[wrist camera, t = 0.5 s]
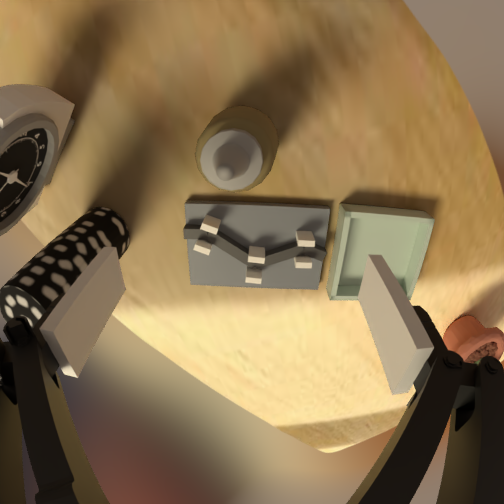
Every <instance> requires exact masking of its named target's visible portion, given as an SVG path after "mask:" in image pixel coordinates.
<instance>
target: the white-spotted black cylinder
mask: <svg viewBox="0 0 504 504" xmlns="http://www.w3.org/2000/svg"><path fill="white" fill-rule="evenodd" d="M128 245H129V231H128V228H127V226H126V224H125V222H124V220H123V219H122V218H121V217H120V216H119V215H118V214H117V213H116V212H114V211H113V210H111V209H108V208H104V207H96V208H93V209H91V210H89V211H88V212H87V213H85V214H84V215H83V216H82V217H80V218H79V219H78V220H76V221H75V222H74V223H73V224H72V225H70V226H69V227H68V228H67V229H65V230H64V231H63V232H62V233H61V234H59V235H58V236H57V237H56V238H55V239H53V240H52V241H51V242H50V243H49V244H48V245H47V246H45V247H44V248H43V249H42V250H41V251H40V252H39V253H38V254H36V255H35V256H34V257H33V258H32V259H31V260H30V261H29V262H28V263H27V264H25V265H24V266H23V267H22V268H21V269H20V270H19V271H18V272H17V273H16V274H15V275H14V276H13V277H12V278H11V279H10V280H9V281H8V282H7V283H6V284H5V285H4V286H3V287H2V288H1V289H0V310H1V313H2V315H3V317H4V319H5V321H6V322H8V321H9V320H10V319H12V318H14V317H17V316H25V317H26V318H27V319H28V321H29V323H30V325H31V327H32V328H33V327H34V326H35V324H36V323H37V322H38V320H39V319H40V318H41V316H42V315H43V314H44V313H45V311H46V310H47V308H48V307H49V306H50V304H51V303H52V302H53V300H54V299H55V298H57V297H58V296H59V295H61V294H62V293H66V292H67V291H68V290H69V288H70V287H71V286H72V285H73V283H74V282H75V281H76V280H77V278H78V277H79V276H80V275H81V273H82V272H83V271H84V270H85V269H86V267H87V266H88V265H89V264H90V263H91V261H92V260H93V259H94V258H95V257H96V256H97V254H98V253H99V252H100V251H101V250H102V249H103V247H116V249H117V254H118V259H120V258H121V257H122V255H123V254H124V253H125V251H126V250H127V248H128Z"/></svg>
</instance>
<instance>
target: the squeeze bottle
mask: <svg viewBox="0 0 504 504" xmlns="http://www.w3.org/2000/svg"><path fill="white" fill-rule="evenodd" d="M278 146H279V141H278V135H277V129H276V128H275V126H274V125H273V123H272V121H271V120H270V118H269V117H268V116H266V115H265V114H263V113H262V112H261V111H259V110H258V109H255V108H251V107H246V106H237V107H231V108H227V109H225V110H223V111H222V112H220V113H219V114H217V115H215V116H214V117H213V119H212V120H211V122H210V123H209V124H208V126H207V127H206V129H205V130H204V131H203V133H202V134H201V136H200V137H199V139H198V142H197V147H196V152H195V157H196V161H197V166H198V169H199V171H200V172H201V174H202V175H203V177H204V178H205V180H206V181H207V182H209V183H210V184H212V185H213V186H215V187H216V188H218V189H220V190H225V191H229V192H240V191H247V190H250V189H251V188H253V187H255V186H257V185H258V184H260V183H262V181H263V180H264V179H265V177H266V176H267V175H268V174H269V172H270V171H271V168H272V165H273V163H274V160H275V157H276V153H277V149H278Z"/></svg>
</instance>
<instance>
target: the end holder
mask: <svg viewBox="0 0 504 504" xmlns="http://www.w3.org/2000/svg"><path fill="white" fill-rule="evenodd" d="M434 220H435V219H434V218H432V217H431V216H430V215H429V214H428V213H426V212H425V211H419V210H410V209H400V208H390V207H380V206H369V205H357V204H344V203H340V206H339V213H338V220H337V227H336V234H335V240H334V246H333V252H332V258H331V264H330V270H329V275H328V281H327V286H326V289H327V293H328V296H329V299H330V300H359V299H358V295H359V291H360V287H361V283H362V279H363V275H364V270H365V266H366V262H367V257H368V254H372V255H382V256H383V258H384V260H385V261H386V263H387V264H388V266H389V268H390V269H391V271H392V273H393V274H394V276H395V277H396V279H397V281H398V282H399V284H400V286H401V288H402V289H403V291H404V293H405V294H406V296H407V298H408V300H411V297H412V294H413V291H414V288H415V285H416V282H417V279H418V276H419V273H420V270H421V267H422V264H423V260H424V257H425V254H426V250H427V247H428V243H429V240H430V236H431V232H432V228H433V224H434Z"/></svg>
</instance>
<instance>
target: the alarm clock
mask: <svg viewBox="0 0 504 504" xmlns="http://www.w3.org/2000/svg"><path fill="white" fill-rule="evenodd" d="M74 106H75V104H73V103H71V102H70V101H68V100H67V99H65V98H63V97H62V96H60V95H58V94H57V93H55V92H54V91H52V90H50V89H49V88H46V87H41V86H37V85H27V84H14V85H6V86H3V87H0V236H1V235H3V234H5V233H6V232H7V231H9V230H10V229H11V228H12V227H13V226H14V225H16V224H17V223H18V221H19V220H20V219H21V218H22V217H23V216H24V215H25V214H26V213H28V212H29V211H30V210H31V209H32V208H34V207H35V206H36V205H37V204H38V201H39V199H40V196H41V194H42V191H43V188H44V186H46V185H48V184H50V182H51V179H52V176H53V173H54V171H55V168H56V165H57V163H58V160H59V157H60V155H61V152H62V150H63V147H64V145H65V142H66V140H67V138H68V135H69V133H70V131H71V128H72V126H73V124H74V122H75V121H74V120H73V119H71V118H70V117H71V114H72V111H73V109H74Z"/></svg>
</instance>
